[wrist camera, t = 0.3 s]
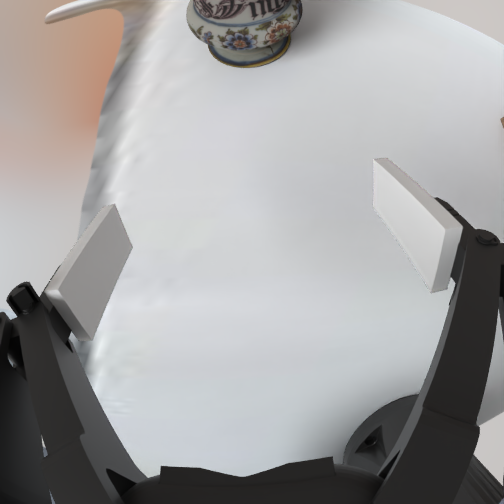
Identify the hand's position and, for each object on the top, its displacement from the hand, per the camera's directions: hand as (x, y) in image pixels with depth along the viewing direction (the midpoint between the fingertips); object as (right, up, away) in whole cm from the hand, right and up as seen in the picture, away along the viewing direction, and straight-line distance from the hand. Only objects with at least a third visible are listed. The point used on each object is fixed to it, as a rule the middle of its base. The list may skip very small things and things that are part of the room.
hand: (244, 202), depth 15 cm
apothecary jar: (0, +23, +16) cm, 28 cm away
